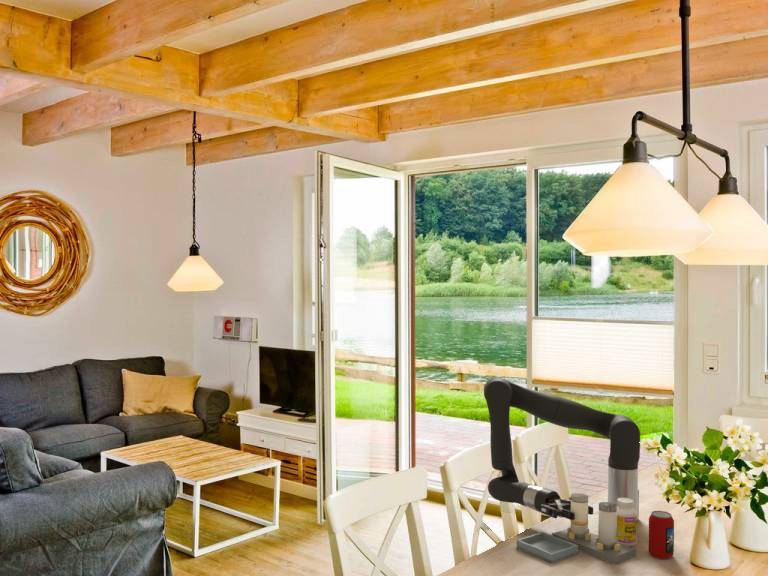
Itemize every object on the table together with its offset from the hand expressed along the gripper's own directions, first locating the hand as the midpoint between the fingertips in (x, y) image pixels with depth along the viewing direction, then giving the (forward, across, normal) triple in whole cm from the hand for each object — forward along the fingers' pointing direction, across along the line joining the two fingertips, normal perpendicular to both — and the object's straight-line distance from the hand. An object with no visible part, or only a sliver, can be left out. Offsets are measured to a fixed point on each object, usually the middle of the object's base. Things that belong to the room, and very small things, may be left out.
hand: (583, 513), depth 215 cm
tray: (-2, -13, +9) cm, 16 cm away
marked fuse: (-2, 0, +7) cm, 7 cm away
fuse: (+8, 0, +7) cm, 11 cm away
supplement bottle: (+6, +11, +9) cm, 16 cm away
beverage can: (+18, +11, +9) cm, 23 cm away
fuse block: (+4, 0, +9) cm, 10 cm away
